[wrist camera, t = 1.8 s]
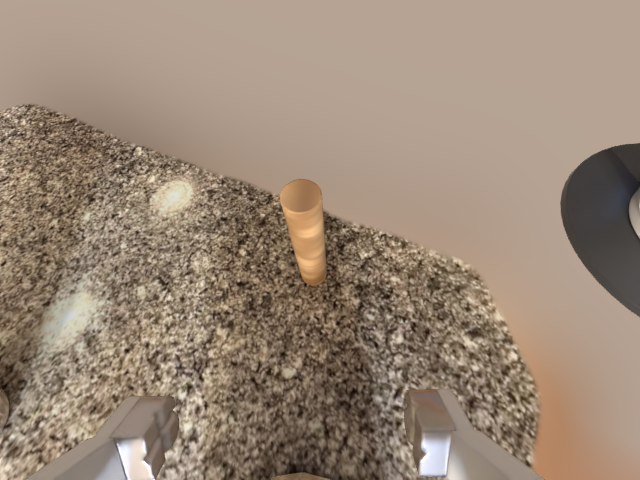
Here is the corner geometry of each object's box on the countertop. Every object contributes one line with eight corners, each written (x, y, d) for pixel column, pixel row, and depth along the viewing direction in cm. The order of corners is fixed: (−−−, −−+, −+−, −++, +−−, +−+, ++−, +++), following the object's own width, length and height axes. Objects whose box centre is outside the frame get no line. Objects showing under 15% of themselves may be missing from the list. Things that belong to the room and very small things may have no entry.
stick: (324, 259, 32) (318, 176, 20) (328, 283, 31) (324, 209, 19) (299, 263, 32) (278, 181, 20) (302, 287, 31) (280, 215, 19)
